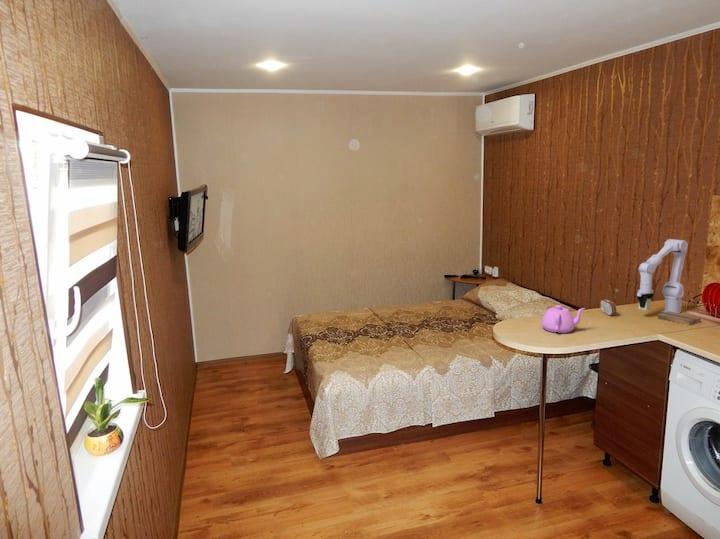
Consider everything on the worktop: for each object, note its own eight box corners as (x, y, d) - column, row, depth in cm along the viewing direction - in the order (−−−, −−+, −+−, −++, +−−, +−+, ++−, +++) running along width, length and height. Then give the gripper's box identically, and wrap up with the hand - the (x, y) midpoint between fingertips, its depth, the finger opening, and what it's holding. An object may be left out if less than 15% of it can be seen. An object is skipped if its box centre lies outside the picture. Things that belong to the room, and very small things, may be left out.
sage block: (642, 307, 279) (642, 297, 278) (650, 309, 275) (651, 298, 274) (638, 308, 276) (638, 298, 275) (646, 310, 273) (647, 300, 272)
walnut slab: (668, 316, 278) (669, 311, 278) (700, 323, 264) (700, 317, 263) (657, 319, 274) (657, 314, 273) (689, 326, 259) (689, 321, 258)
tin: (616, 317, 279) (617, 303, 278) (611, 317, 279) (611, 303, 278) (604, 310, 294) (604, 297, 292) (599, 310, 294) (599, 297, 292)
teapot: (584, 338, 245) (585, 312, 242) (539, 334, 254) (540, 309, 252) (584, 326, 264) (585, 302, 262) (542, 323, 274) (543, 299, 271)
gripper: (645, 280, 280) (643, 303, 283) (632, 284, 273) (630, 307, 275) (657, 282, 274) (656, 305, 277) (645, 286, 267) (643, 309, 269)
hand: (644, 306), depth 276 cm, fingers closed on sage block, 4 cm apart
